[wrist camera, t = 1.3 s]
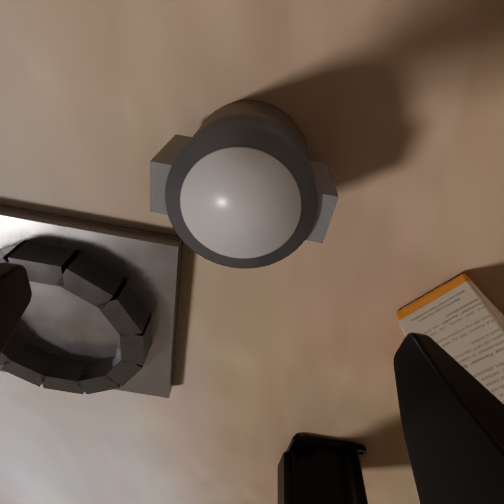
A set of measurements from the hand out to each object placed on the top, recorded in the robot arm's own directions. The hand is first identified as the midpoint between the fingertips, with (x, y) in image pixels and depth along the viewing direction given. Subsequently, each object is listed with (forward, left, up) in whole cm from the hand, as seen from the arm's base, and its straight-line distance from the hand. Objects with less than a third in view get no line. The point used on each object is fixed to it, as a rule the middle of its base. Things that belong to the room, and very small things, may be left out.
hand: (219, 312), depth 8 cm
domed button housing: (0, 0, -10) cm, 11 cm away
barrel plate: (+10, +12, -10) cm, 19 cm away
